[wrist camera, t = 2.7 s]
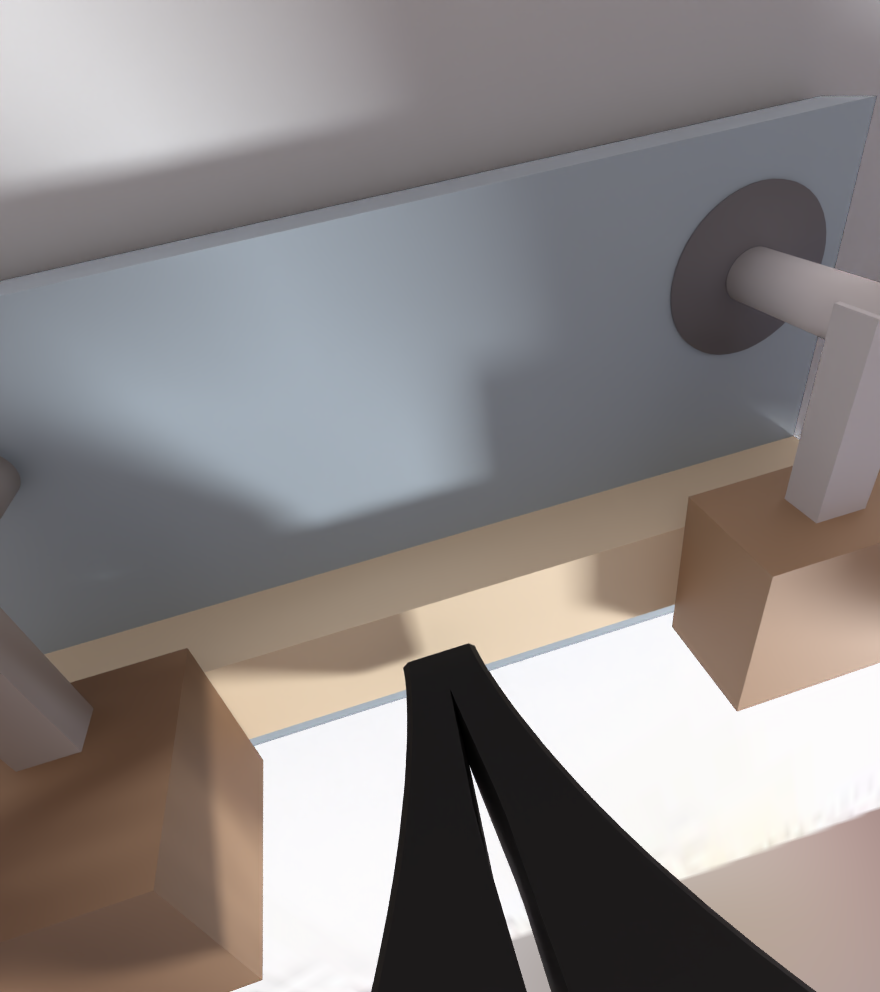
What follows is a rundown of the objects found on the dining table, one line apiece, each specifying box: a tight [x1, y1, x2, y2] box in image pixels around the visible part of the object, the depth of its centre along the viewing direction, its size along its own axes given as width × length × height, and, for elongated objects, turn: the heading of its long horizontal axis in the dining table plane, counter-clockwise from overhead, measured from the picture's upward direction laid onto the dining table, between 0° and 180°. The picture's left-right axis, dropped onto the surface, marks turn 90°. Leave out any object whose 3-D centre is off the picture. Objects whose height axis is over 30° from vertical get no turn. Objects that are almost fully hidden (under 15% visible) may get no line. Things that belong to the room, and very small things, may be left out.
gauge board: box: [0, 96, 880, 746], centre depth 11 cm, size 24×12×5 cm, turn 98°
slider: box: [0, 456, 263, 992], centre depth 9 cm, size 4×8×6 cm, turn 8°
